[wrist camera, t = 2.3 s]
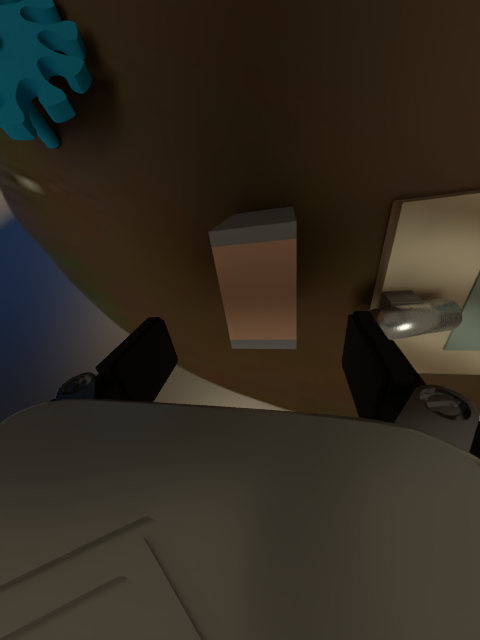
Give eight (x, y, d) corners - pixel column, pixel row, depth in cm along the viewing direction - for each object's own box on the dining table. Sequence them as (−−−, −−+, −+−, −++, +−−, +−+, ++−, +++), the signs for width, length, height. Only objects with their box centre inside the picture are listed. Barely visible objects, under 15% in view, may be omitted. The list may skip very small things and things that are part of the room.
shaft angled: (364, 295, 17) (381, 320, 14) (446, 291, 16) (484, 318, 13) (359, 320, 18) (374, 348, 15) (435, 319, 17) (466, 349, 14)
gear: (119, 35, 12) (-30, 154, 10) (149, 140, 17) (60, 228, 15) (-58, -98, 11) (-252, -1, 9) (33, 56, 17) (-74, 135, 15)
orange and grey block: (234, 213, 17) (208, 231, 11) (292, 206, 16) (296, 221, 10) (246, 302, 21) (232, 348, 15) (293, 300, 20) (296, 349, 14)
